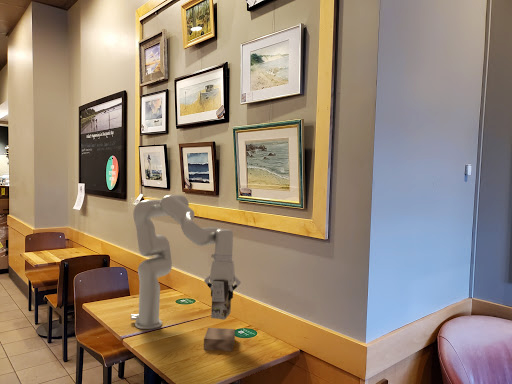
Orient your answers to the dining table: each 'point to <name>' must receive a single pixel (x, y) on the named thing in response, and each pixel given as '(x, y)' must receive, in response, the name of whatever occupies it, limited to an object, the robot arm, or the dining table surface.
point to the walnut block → (219, 339)
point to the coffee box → (220, 300)
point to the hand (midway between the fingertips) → (221, 298)
